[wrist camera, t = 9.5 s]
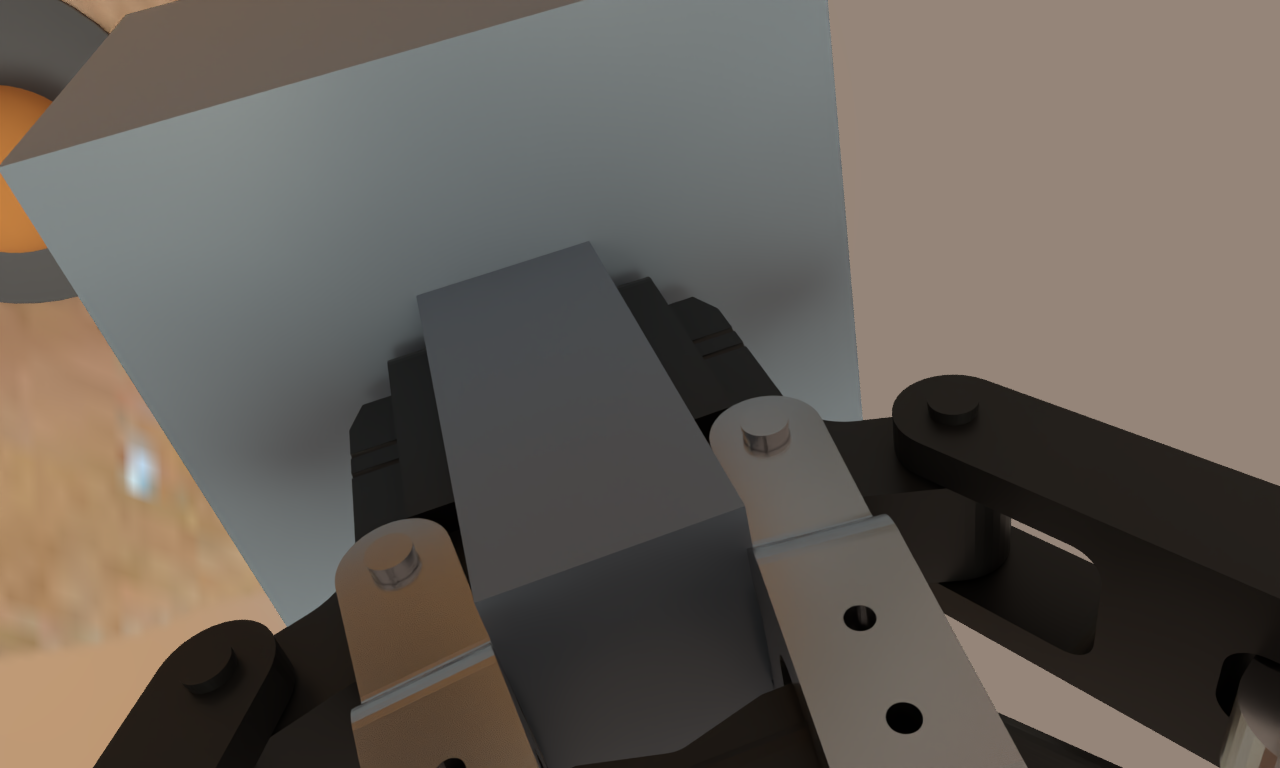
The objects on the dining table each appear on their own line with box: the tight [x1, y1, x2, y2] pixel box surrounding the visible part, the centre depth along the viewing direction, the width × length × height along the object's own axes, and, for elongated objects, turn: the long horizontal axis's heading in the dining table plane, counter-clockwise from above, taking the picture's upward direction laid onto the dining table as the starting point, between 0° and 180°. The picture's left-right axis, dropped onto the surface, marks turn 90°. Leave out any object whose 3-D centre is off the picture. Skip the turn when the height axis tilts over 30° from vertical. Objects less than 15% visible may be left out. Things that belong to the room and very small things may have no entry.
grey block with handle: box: [0, 0, 863, 768], centre depth 15 cm, size 10×10×15 cm
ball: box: [0, 85, 52, 253], centre depth 29 cm, size 5×5×5 cm
